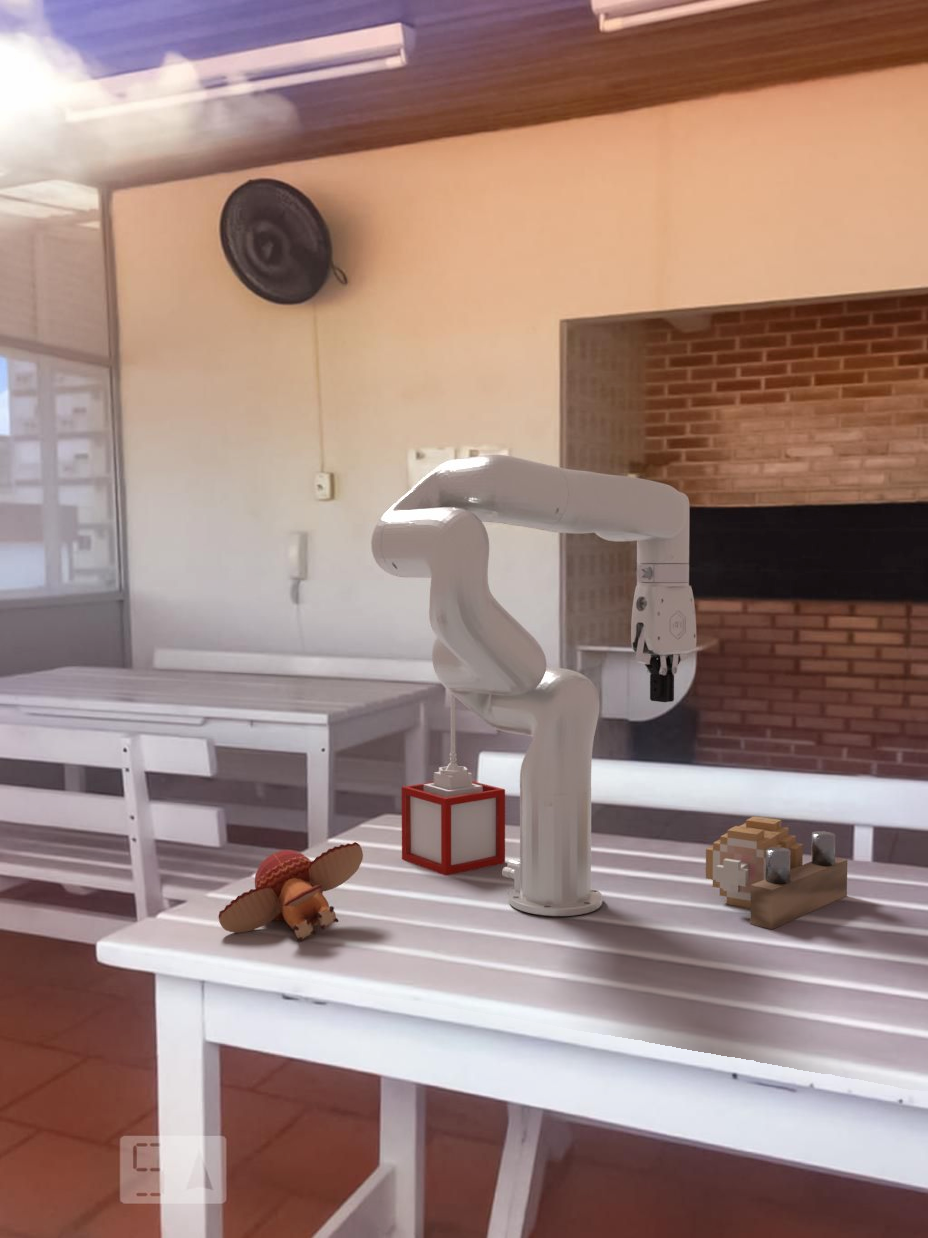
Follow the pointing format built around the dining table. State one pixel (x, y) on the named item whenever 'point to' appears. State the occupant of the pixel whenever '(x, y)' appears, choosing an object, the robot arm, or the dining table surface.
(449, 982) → the dining table surface
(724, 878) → the voxel meat on bone
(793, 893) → the rail
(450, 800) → the pendant light
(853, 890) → the dining table surface
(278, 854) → the figurine
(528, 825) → the robot arm
